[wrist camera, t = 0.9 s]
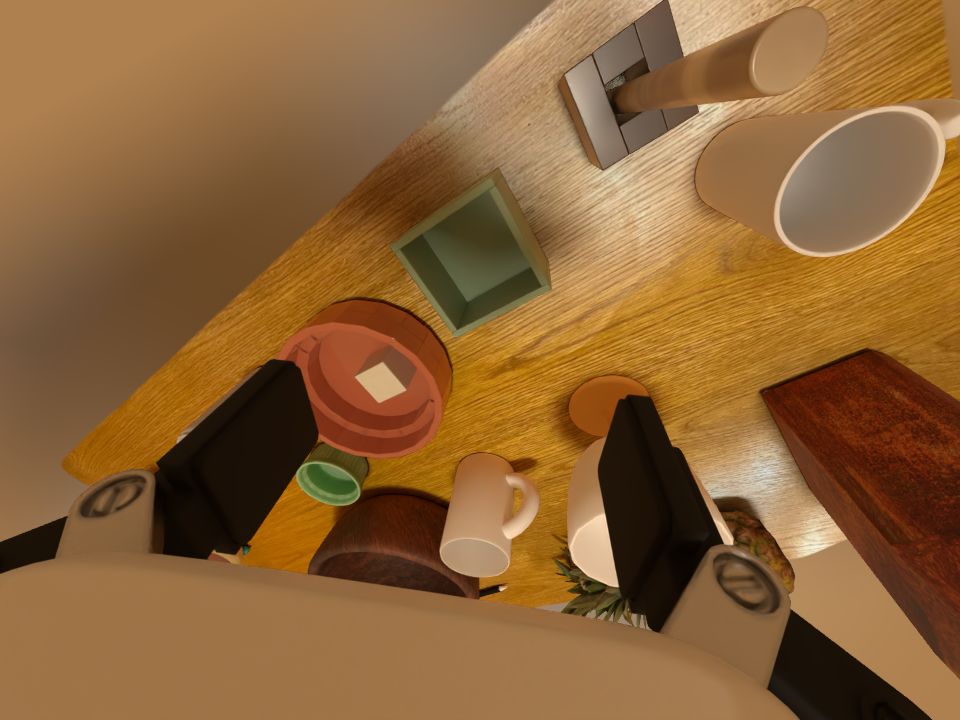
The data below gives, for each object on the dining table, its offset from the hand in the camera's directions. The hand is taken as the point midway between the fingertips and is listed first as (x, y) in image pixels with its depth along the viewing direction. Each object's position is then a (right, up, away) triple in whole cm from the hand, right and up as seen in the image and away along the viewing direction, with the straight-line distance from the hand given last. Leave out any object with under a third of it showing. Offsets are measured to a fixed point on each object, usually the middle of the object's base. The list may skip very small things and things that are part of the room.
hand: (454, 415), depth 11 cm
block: (-9, +1, +30) cm, 32 cm away
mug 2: (+22, +17, +17) cm, 33 cm away
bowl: (-11, +1, +32) cm, 34 cm away
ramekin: (-19, -13, +42) cm, 48 cm away
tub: (+1, +12, +23) cm, 26 cm away
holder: (+10, +21, +16) cm, 28 cm away
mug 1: (+3, -13, +39) cm, 41 cm away
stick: (+11, +21, +16) cm, 28 cm away
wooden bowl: (-11, -27, +50) cm, 57 cm away
